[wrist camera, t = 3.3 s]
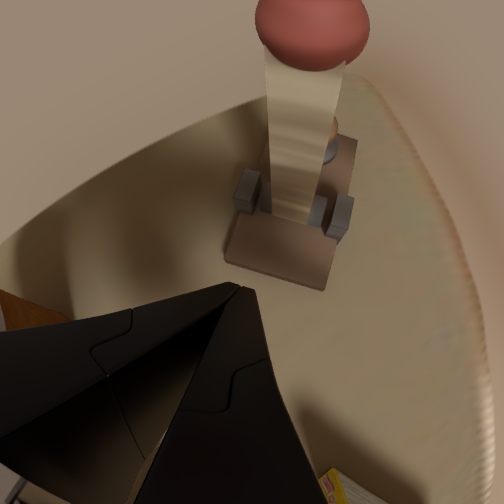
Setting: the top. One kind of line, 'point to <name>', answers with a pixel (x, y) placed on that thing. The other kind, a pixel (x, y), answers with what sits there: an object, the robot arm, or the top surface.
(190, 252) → the top surface
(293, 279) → the base
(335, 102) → the lever
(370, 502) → the candy box
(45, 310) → the disposable coffee cup
